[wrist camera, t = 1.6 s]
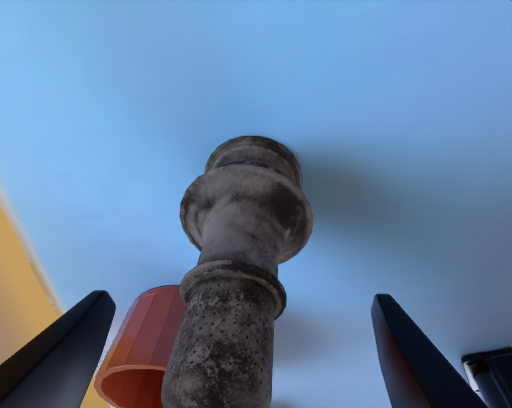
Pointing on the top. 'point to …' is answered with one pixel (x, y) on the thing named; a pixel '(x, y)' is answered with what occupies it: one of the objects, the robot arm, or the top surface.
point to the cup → (142, 350)
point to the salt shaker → (236, 274)
